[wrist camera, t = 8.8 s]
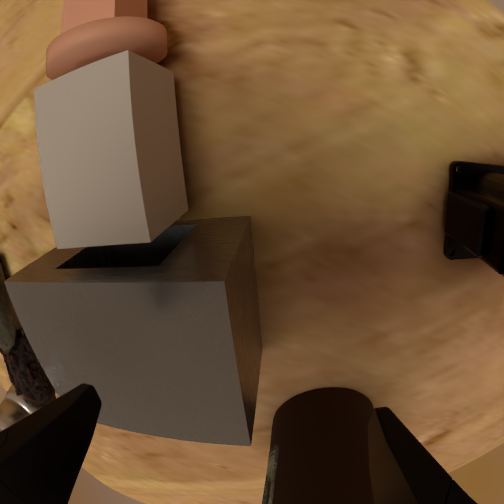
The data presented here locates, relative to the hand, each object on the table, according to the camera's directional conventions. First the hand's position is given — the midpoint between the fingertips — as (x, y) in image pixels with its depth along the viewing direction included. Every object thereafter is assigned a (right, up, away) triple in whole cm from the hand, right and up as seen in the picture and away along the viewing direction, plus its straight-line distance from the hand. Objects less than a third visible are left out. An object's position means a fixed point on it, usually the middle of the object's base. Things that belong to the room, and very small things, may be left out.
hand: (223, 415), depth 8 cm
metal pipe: (-23, -3, +17) cm, 29 cm away
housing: (-5, +2, +13) cm, 14 cm away
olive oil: (+7, -10, +16) cm, 21 cm away
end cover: (-6, +14, +7) cm, 17 cm away
